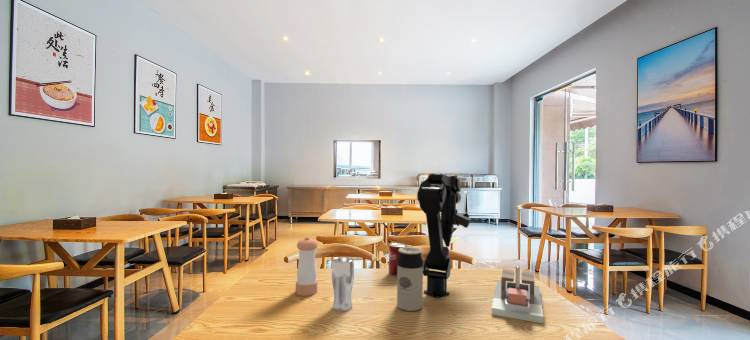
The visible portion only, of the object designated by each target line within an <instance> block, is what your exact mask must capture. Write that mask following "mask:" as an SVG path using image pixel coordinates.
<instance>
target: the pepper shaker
mask: <svg viewBox="0 0 750 340" xmlns="http://www.w3.org/2000/svg"><path fill="white" fill-rule="evenodd" d="M296 248H297V250H298V266H297V272H296V276H297V277H296V283H295V294H296V295H298V296H303V297H304V296H305V297H307V296H309V297H310V296H313V295H315V294H317V293H318V281H317V266H316V249H317V248H318V242H317V240H316V239H313V238H310V237H309V236H305V237H304V238H302V239H301V240H299V241H298V242H297V243H296Z"/></svg>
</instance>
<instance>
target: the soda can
mask: <svg viewBox="0 0 750 340" xmlns="http://www.w3.org/2000/svg"><path fill="white" fill-rule="evenodd" d="M403 247H408V246H407V244H405V243H401V242H395V243H390V244H389V245H388V274H389V275H390V276H393V277H397V268H398V258H399V256H400V253H399V249H400V248H403Z"/></svg>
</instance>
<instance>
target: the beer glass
mask: <svg viewBox="0 0 750 340" xmlns="http://www.w3.org/2000/svg"><path fill="white" fill-rule="evenodd" d="M354 260H355V259H354V258H352V257H349V256H337V257H334V258H332V261H331V283H332V288H333V297H334V299H333V303H332V304H333V305H332V309H333V310H334V311H335V312H336V311H337V312H348V311H350V310H352V308H353V302H352V301H353V300H352V292H353V291H352V290H353V285H354V279H355V263H354Z"/></svg>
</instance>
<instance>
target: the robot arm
mask: <svg viewBox="0 0 750 340" xmlns="http://www.w3.org/2000/svg"><path fill="white" fill-rule="evenodd" d="M434 185H435V186H438V187H431V186H434ZM461 190H462V189H461V182H460V178H459V177H458V175H457V174H445V173H442V172H439V173H438V172H431V173H429V174H428V176H427V178H426V179H425V180H424V181H423V182H421V183H420V185H419V188H418V190H417V192H416V193H417V195H416V199H417V201H418V204H419V208H420V210H421V211H422V212H423V213H424V214H425V217H426V224H427V235H428V241H429V251H428V252H427V255H426V258H425V259H424V261H423V277H426V289H425V290H423V293H425V294H427V295H429V296H431V297H434V298H436V299H437V298H441V297H445V296H448V295H450V292H449V291H447V287H448V285H447V283H448V281H447V280H449V278H450V276H451V268H452V259H451V257H450V250H449V247H450V245H451V241H452V237H453V233H454V232H455V231H456V230H458V227H460V226H462V227H463V228H468V227H469V226H470V223H471V220H472V218H471V217H470V215H469V213H467V212H465V213H463V214H461V213H458V209H457V204H459V203H460V202H461V199H462V196H461V194H460V192H461ZM454 225H457V227H454Z"/></svg>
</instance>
